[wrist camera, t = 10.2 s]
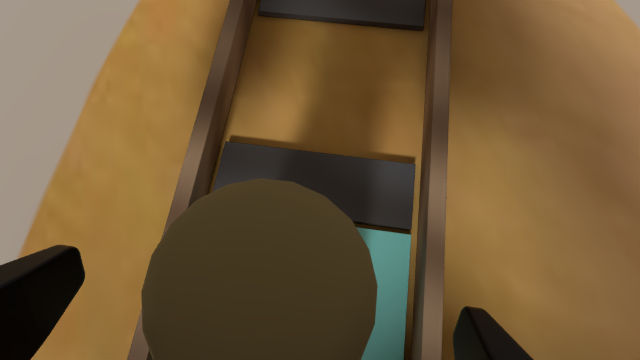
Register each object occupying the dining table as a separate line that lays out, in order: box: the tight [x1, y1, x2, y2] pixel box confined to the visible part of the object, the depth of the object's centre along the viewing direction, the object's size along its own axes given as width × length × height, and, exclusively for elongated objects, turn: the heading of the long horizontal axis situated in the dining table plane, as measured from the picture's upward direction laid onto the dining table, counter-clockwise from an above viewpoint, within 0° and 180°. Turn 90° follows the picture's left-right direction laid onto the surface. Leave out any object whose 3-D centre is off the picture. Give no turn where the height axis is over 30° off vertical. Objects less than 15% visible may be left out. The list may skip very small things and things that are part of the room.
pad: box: [356, 227, 411, 360], centre depth 17 cm, size 7×10×1 cm
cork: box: [142, 178, 378, 360], centre depth 12 cm, size 6×6×11 cm
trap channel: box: [127, 0, 452, 360], centre depth 19 cm, size 26×13×2 cm, turn 172°
